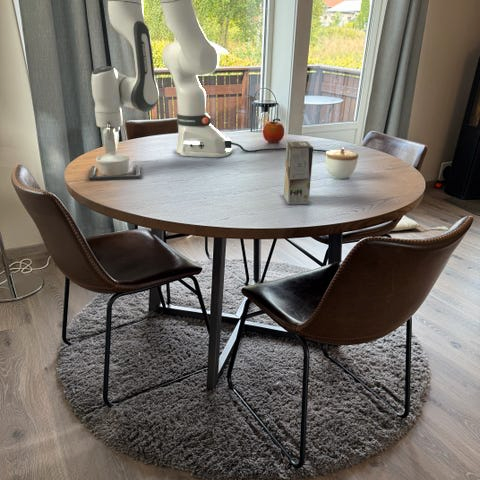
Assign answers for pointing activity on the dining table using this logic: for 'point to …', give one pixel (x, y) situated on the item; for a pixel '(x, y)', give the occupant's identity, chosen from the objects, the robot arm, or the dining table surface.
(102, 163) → the ramekin
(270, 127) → the fruit
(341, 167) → the trinket box
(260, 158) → the dining table surface
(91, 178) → the bay
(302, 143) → the coffee box
